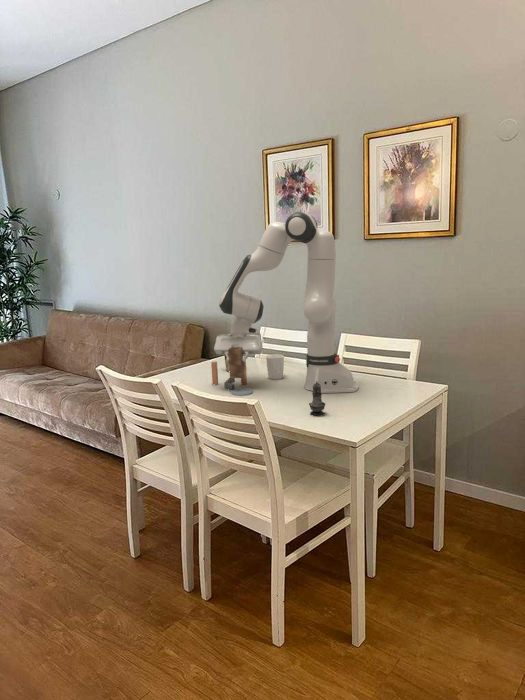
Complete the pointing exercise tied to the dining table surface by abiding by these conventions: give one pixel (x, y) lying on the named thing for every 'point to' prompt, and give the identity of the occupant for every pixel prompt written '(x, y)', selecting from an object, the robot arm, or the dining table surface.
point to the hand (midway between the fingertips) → (235, 361)
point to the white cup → (275, 366)
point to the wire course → (229, 382)
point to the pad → (242, 391)
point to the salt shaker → (317, 401)
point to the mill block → (236, 361)
